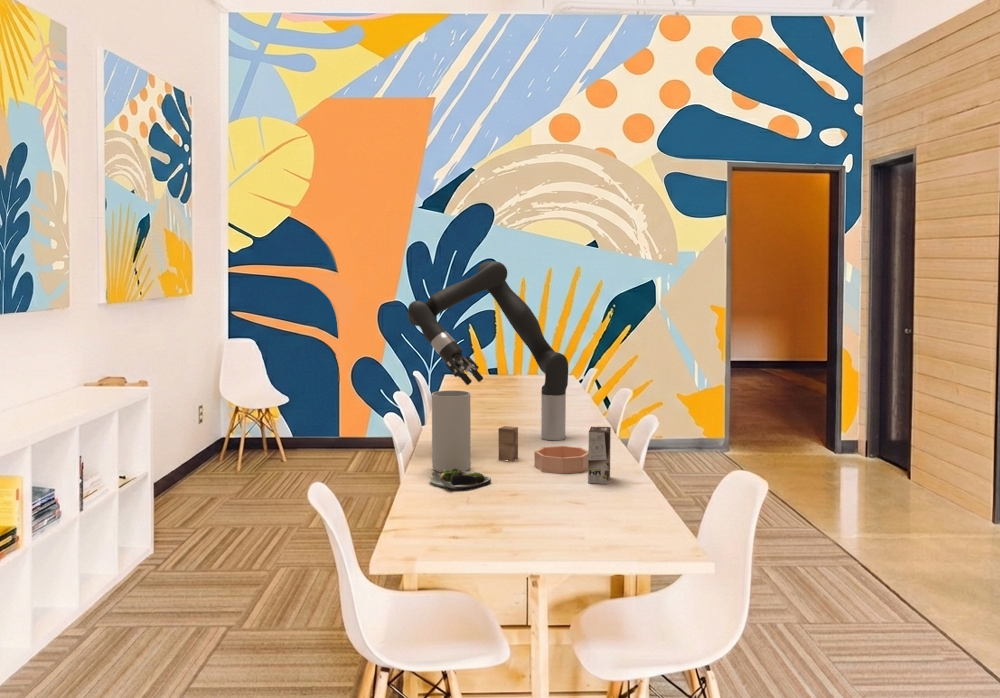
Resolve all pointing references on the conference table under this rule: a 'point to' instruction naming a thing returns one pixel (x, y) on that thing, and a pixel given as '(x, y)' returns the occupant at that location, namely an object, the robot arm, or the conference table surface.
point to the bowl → (561, 459)
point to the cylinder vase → (451, 430)
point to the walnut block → (508, 443)
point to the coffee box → (599, 455)
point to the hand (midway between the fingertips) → (475, 381)
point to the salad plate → (459, 480)
